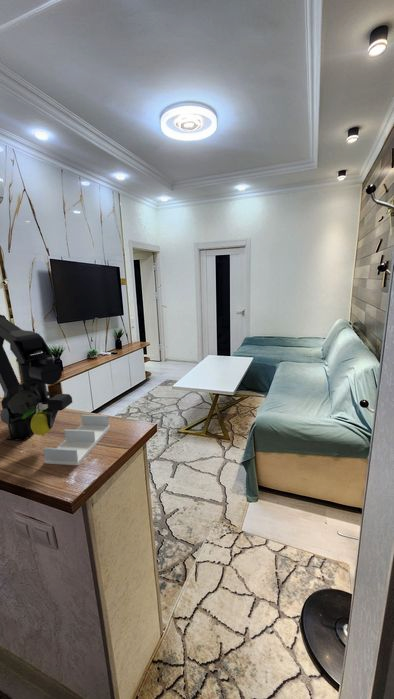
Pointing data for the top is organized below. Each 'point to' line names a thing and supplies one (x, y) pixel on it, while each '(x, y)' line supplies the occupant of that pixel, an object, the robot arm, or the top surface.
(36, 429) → the lemon
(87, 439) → the white divided tray
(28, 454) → the top surface
